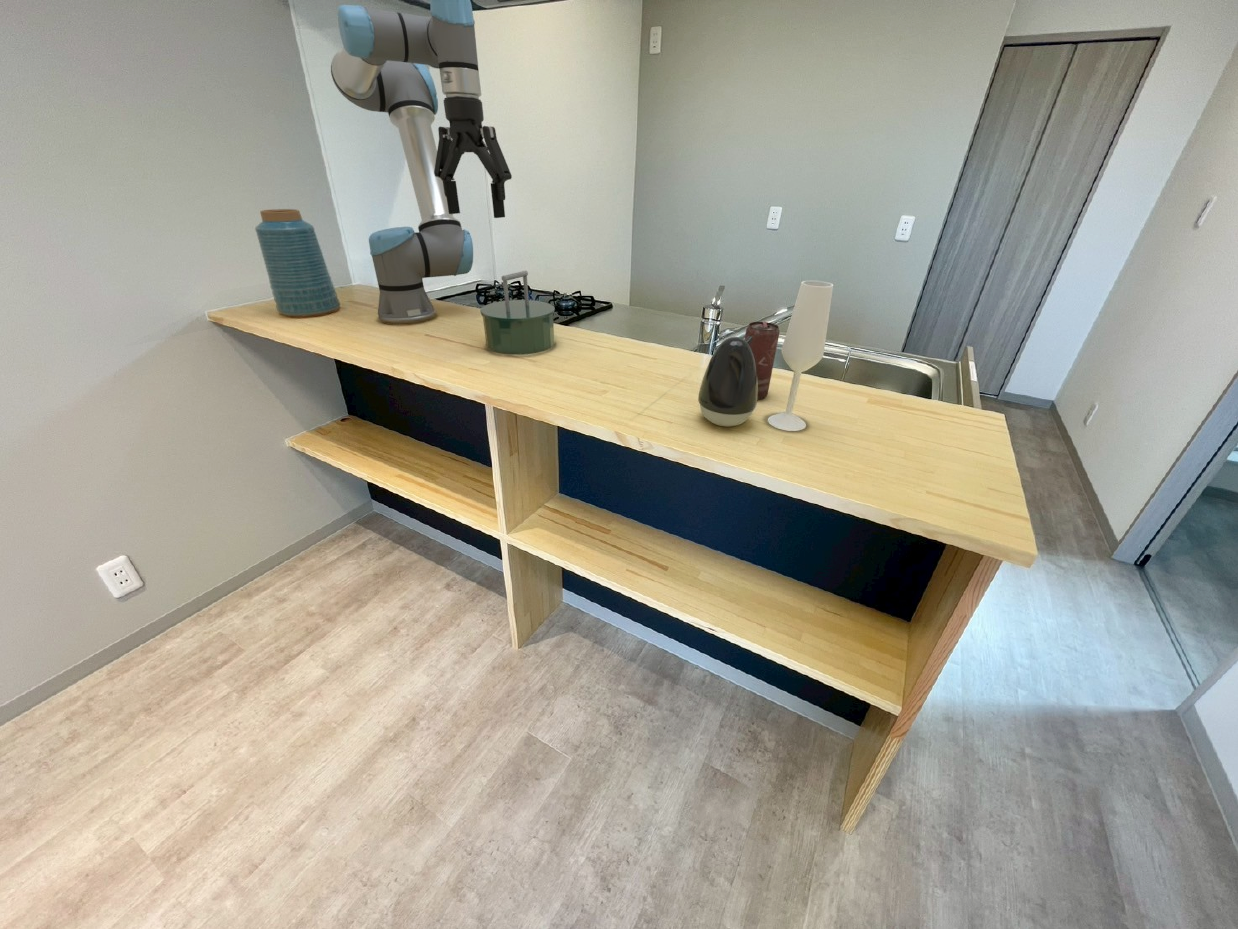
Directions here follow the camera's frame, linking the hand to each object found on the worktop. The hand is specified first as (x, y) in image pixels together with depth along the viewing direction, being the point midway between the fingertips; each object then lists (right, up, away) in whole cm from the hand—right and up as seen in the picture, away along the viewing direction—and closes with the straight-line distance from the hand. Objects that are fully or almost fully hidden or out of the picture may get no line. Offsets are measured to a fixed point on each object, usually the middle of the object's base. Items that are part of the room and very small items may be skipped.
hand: (476, 215), depth 110 cm
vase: (-60, -10, +36) cm, 71 cm away
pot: (+7, -26, +13) cm, 30 cm away
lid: (+8, -19, +8) cm, 22 cm away
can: (+59, -42, -10) cm, 73 cm away
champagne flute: (+62, -48, -21) cm, 82 cm away
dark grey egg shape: (+51, -48, -21) cm, 73 cm away
